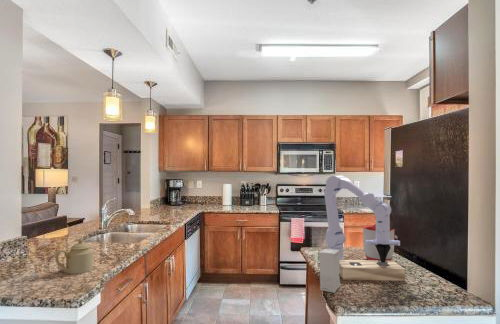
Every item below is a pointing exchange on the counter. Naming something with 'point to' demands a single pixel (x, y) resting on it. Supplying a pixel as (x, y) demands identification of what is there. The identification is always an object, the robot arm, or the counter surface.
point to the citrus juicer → (371, 250)
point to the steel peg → (382, 263)
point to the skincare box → (329, 270)
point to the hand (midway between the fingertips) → (382, 261)
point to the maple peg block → (371, 270)
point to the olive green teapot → (77, 258)
